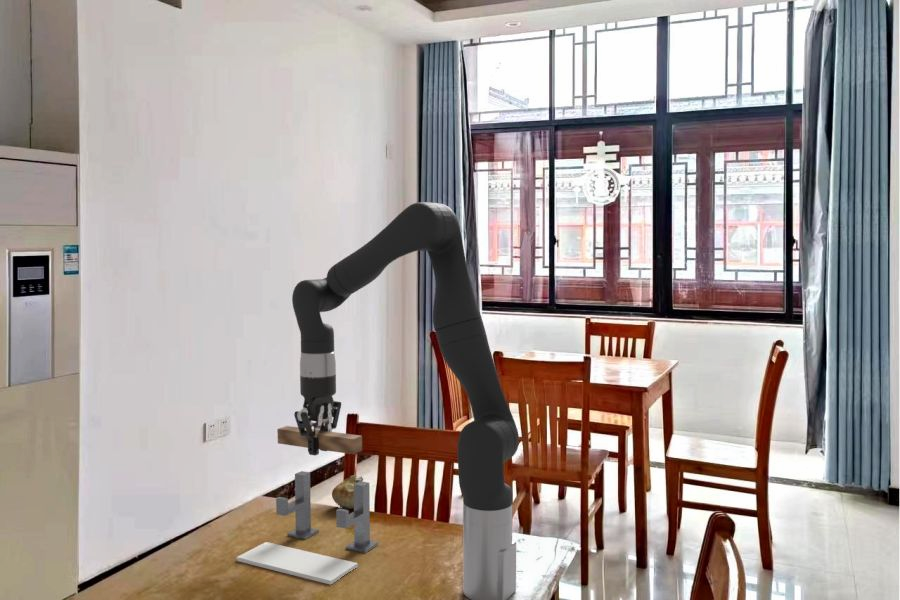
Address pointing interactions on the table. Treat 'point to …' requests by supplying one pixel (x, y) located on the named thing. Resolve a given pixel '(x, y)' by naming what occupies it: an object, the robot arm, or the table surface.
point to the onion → (345, 492)
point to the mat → (298, 562)
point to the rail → (322, 440)
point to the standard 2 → (358, 519)
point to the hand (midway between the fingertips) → (319, 452)
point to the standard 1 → (299, 507)
